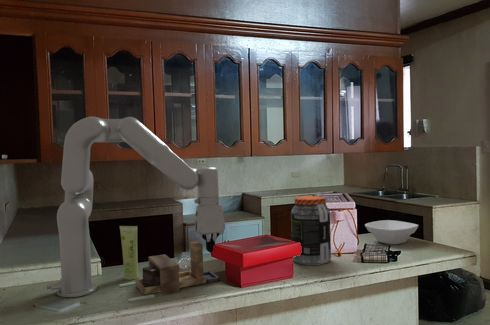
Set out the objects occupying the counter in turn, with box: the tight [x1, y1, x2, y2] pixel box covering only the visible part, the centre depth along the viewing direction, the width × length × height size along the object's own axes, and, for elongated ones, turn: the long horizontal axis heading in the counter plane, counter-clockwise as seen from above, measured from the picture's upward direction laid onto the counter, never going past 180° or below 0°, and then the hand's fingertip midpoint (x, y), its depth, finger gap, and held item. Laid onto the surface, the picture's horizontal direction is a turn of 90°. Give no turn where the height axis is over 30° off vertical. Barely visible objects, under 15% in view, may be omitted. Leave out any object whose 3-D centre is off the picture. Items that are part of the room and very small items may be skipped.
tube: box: [119, 225, 139, 281], centre depth 157 cm, size 6×5×20 cm
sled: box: [134, 240, 207, 295], centre depth 147 cm, size 22×11×13 cm, turn 116°
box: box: [142, 265, 160, 288], centre depth 145 cm, size 6×6×7 cm
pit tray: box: [203, 270, 221, 284], centre depth 154 cm, size 5×9×1 cm, turn 26°
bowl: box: [364, 219, 419, 245], centre depth 199 cm, size 21×21×9 cm
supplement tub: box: [290, 195, 332, 266], centre depth 172 cm, size 16×16×26 cm
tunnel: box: [148, 254, 181, 296], centre depth 146 cm, size 6×16×9 cm, turn 26°
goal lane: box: [118, 281, 155, 303], centre depth 142 cm, size 8×18×1 cm, turn 26°
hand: (210, 251), depth 154 cm, fingers closed
